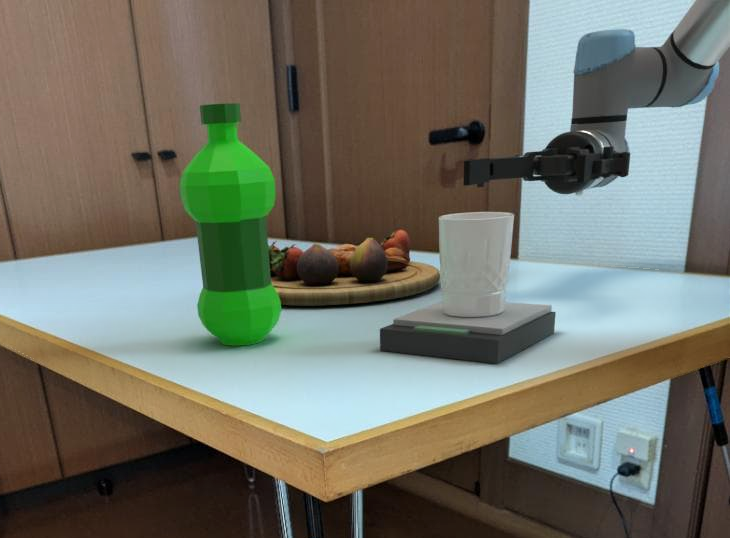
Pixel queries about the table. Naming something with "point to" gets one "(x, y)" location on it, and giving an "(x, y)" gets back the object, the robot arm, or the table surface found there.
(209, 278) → the plastic bottle
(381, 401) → the table surface
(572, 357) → the table surface
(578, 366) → the table surface
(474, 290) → the white cup
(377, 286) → the wooden plate
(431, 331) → the kitchen scale
